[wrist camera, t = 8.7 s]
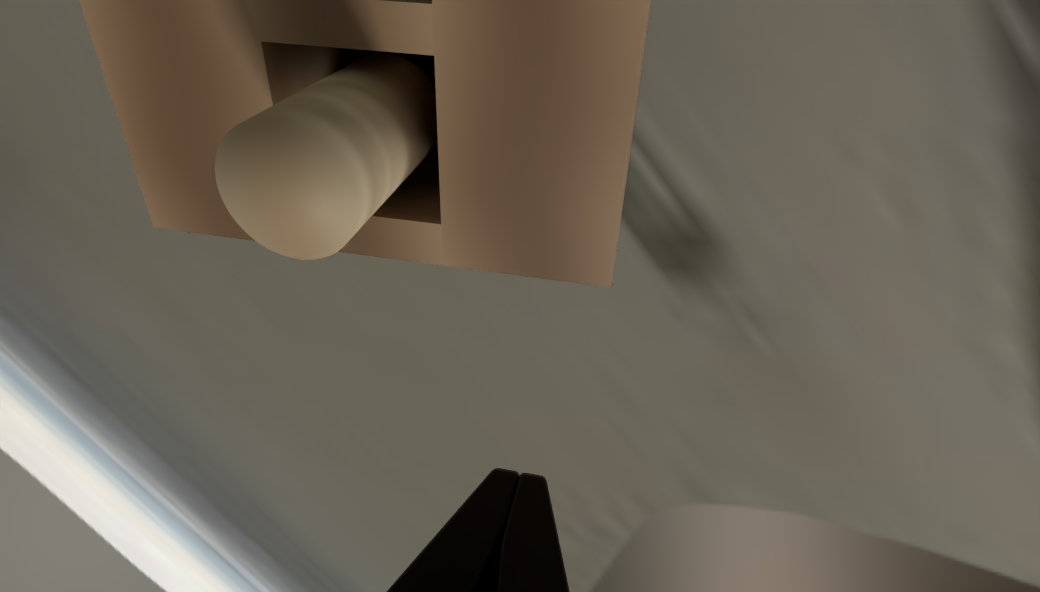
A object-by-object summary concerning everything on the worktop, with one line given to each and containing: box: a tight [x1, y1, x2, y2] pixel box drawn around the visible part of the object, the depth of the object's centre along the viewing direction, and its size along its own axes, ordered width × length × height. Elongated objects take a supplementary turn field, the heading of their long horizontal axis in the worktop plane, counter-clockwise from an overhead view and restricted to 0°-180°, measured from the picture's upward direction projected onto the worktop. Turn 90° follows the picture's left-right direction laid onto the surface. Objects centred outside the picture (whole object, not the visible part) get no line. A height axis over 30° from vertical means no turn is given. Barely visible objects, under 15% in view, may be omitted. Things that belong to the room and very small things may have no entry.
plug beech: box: [215, 53, 438, 260], centre depth 15 cm, size 3×3×6 cm
